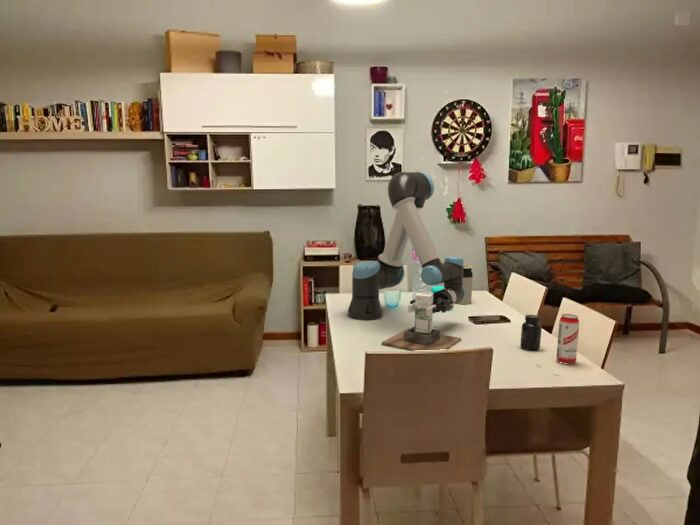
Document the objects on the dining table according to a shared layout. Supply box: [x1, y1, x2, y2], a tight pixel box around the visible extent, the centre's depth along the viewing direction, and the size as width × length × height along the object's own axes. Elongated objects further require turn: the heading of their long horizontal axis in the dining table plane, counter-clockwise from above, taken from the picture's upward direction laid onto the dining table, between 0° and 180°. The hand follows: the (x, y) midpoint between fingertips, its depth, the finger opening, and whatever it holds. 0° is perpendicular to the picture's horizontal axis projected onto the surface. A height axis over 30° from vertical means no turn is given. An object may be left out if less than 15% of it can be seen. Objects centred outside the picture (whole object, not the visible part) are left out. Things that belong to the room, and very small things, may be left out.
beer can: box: [555, 313, 580, 365], centre depth 187 cm, size 6×6×16 cm
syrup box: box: [414, 291, 434, 334], centre depth 204 cm, size 6×6×14 cm
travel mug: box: [456, 264, 474, 305], centre depth 269 cm, size 8×8×18 cm
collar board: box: [381, 326, 462, 351], centre depth 206 cm, size 22×22×4 cm
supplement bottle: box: [520, 314, 542, 352], centre depth 201 cm, size 7×7×12 cm
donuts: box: [430, 285, 452, 311], centre depth 258 cm, size 10×10×10 cm
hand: (418, 310), depth 200 cm, fingers closed on syrup box, 7 cm apart
